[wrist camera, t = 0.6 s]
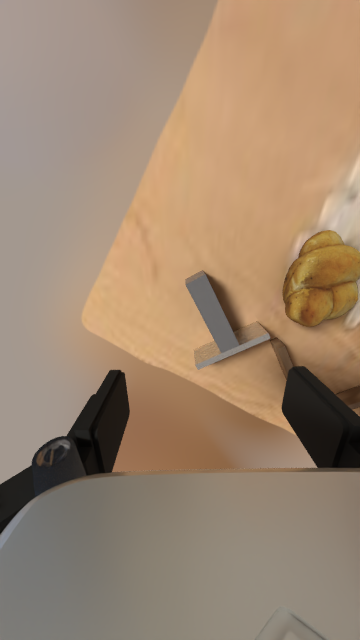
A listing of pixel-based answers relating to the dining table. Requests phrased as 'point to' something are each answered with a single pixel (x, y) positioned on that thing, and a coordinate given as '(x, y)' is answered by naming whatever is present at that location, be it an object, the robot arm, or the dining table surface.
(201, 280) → the grey t-shaped block
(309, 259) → the bread roll
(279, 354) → the walnut frame
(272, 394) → the dining table surface
